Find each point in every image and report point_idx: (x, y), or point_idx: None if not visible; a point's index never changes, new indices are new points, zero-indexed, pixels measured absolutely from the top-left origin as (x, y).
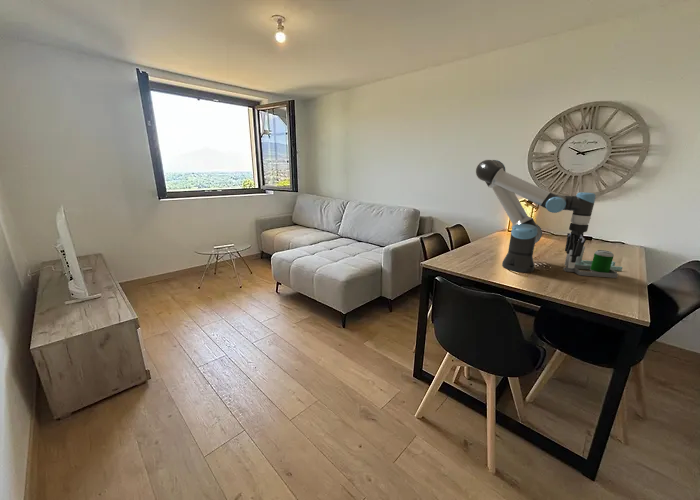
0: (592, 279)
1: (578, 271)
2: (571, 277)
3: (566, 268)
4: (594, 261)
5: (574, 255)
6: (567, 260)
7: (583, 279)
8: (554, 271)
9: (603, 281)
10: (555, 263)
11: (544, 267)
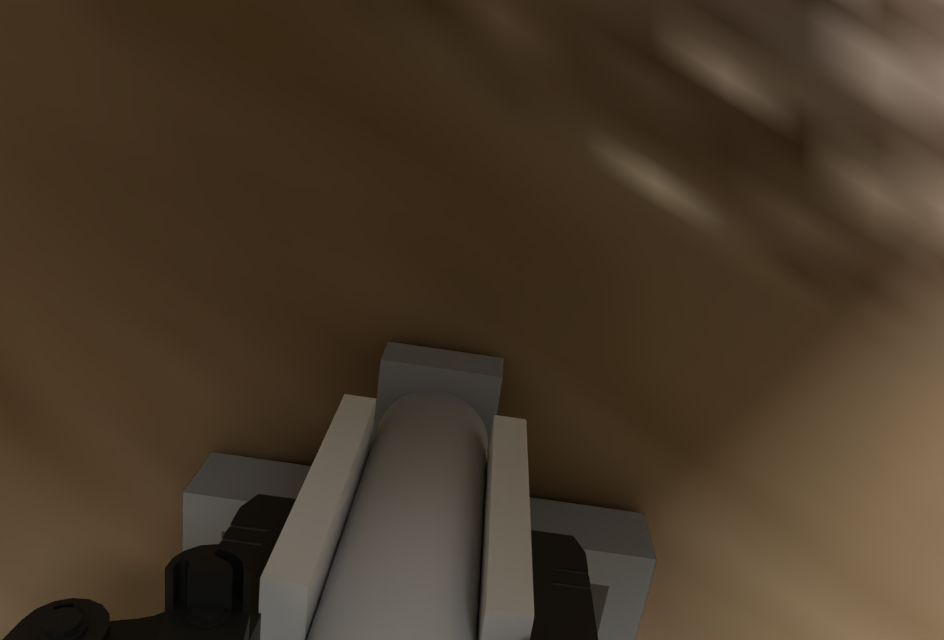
0: (53, 538)
1: (224, 489)
2: (54, 247)
3: (420, 391)
4: None
5: (52, 612)
6: (443, 494)
7: (3, 397)
8: (374, 113)
9: (4, 632)
10: (926, 460)
11: (647, 36)
